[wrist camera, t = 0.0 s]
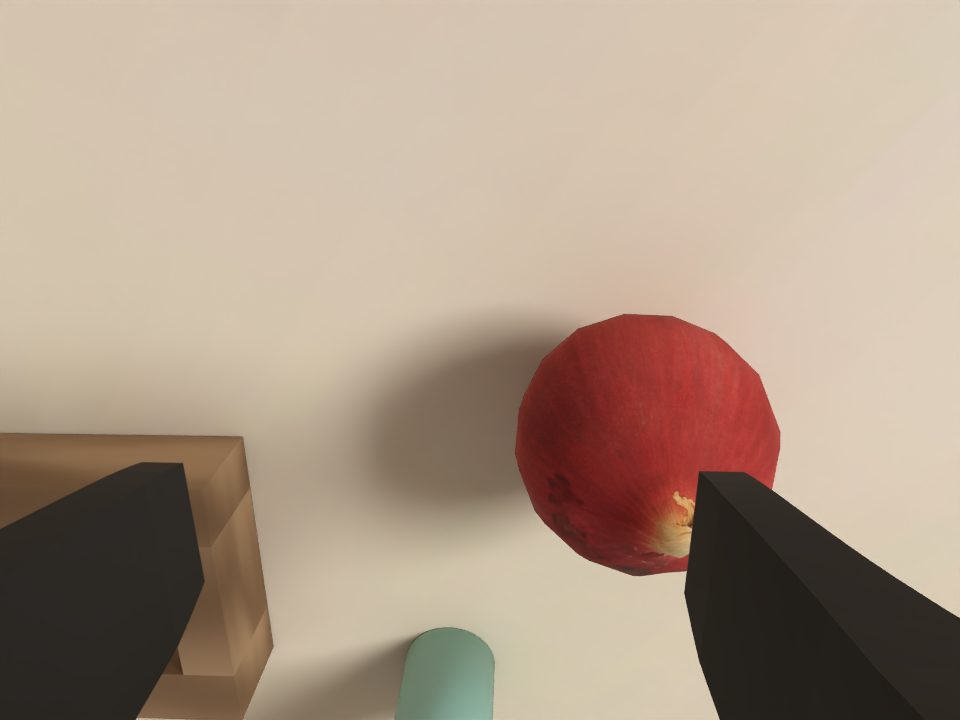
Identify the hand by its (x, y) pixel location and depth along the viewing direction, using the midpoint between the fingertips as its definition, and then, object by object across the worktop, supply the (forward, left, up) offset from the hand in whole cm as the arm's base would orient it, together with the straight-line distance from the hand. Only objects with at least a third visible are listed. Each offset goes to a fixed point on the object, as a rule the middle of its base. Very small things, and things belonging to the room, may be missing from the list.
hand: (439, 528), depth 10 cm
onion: (-2, -4, -10) cm, 11 cm away
